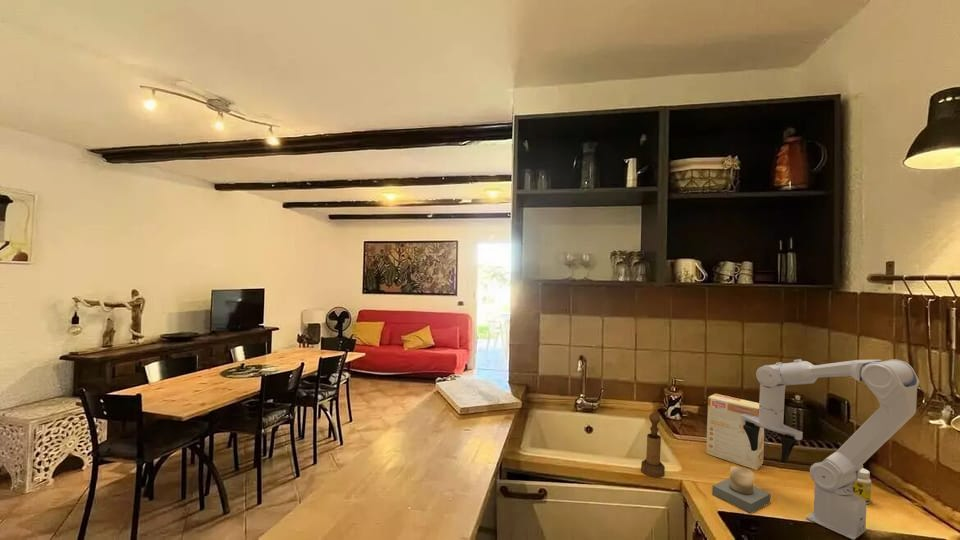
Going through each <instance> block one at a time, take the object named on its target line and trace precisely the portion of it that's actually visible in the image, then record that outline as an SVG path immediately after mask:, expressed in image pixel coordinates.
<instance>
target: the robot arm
mask: <svg viewBox="0 0 960 540" xmlns="http://www.w3.org/2000/svg"><path fill="white" fill-rule="evenodd" d="M755 377H756V379H757V381H758V382H759V402H758V403H759V417H754V416H750V415H746V414H744V415H742V416H741V422H744V423H745V425H743V428H744V430H745V432H746V434H747V436H748V438H749V442H750V446H751V450H752V451H756V450H757V448H758V435H759V430H760V427H762V428H764V430H765V429H766V430H768V431H771V432H775V433H778V434H781V435H784V436H781V437H780V441H781V463H784V464H785V463H787V462H789V458H790V455H791V452H792V450H793V448H794V447H795V446H796V444H797V443H798V442H799V441H802V440H803V435H804V434H803V433H804V432H803V431H801V430H798V429H796V428H793V427H790V426H788V425H786V424H784V420H785V419H784V417H785V416H784V415H785V396H786V395H785V394H786V393H785V392H786V386H793V385H795V386H796V385H808V384H811V385H812V384H814V383H815V382H816V381H817V380H818V378H834V377H836V378H837V377H851V378H853V379H854V380H855V381H857V382H862V381H863V383H864V384H865V385H866V386H867V388H868V389H869V390H870V392H872V394H873V395H874V396H875V397H876V399H877V401H878V403H879V407H878V408H877V409H876V410H875V411H874V412H873V414H871V415H870V417H868V418H867V419H866V420H865V422H864V423H863V424H861V425H860V426H859V427H858V429H856V431H854V433H853V434H852V435H851V436H850V437H849V438H848V439H847V440H846V441H845V442H844V443H843V444H842V445H841V446H840V447H839V448H838V449H837V450H836V451H835V452H832V453H831V454H830V455H828V456H827V457H826V458H824V459H823V461H819V462H815V463H812V464H811V466H810V468H809V475H810V477H811V480H812V481H813V482H814V495H813V496H814V498H813V512H811V513H809V514H808V515H807V516H806V520H808V521H812V522H813V523H815V524H817V525H818V526H821V527H824V528H827V529H828V530H830V531H833V532H836V533H837V534H839V535H840V536H841V535H842V536H844V537H846V538H848V539H851V540H856V539H858V538H859V537H860V536H861V535H862V534H864V533H865V532H866V531H867V528H866V526H867V525H866V524H867V523H866V522H867V504H866V501H865V500H864V499H863V498H861V497H859V496H857V495H856V494H854V493H853V488H852V483H855V482H856V481H857V480H858V477H859V471H860V470H861V469H862V468H864V465H863V464H865V463H866V462H867V461H868V460H869V459H870V458H871V457H872V456H873V455H874V454H875V453H876V452H877V451H878V450H879V449H880V448H881V447H882V446H883V445H884V444H885V443H886V442H888V441H889V440H890V439H891V438H892V436H894V435H895V434H896V433H897V432H898V431H899V430H900V429H902V427H903V426H904V425H905V424H906V423H907V422H908V421H909V420H911V419H912V418H913V417H914V416H915V415H916V412H917V398H918V397H917V396H918V388H919V385H920V382H921V381H920V380H919V377H918V375H917V373H916V372H915V370H914V368H913V367H912V366H911V365H910V364H909V363H908V362H906V361H903V360H900V359H894V358H893V359H887V360H884V361H883V359H855V360H854V359H853V360H847V361H846V360H845V361H839V362H831V363H824V364H815V365H814V364H813V363H811V362H809V361H807V360H802V359H801V358H800V359H794V360H793V362H786V363H785V362H784V363H783V362H782V361H780V362H776V363H775V364H764V365H763V366H760V367H758V368H757V370H756V373H755Z"/></svg>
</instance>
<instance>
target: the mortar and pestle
mask: <svg viewBox="0 0 960 540" xmlns="http://www.w3.org/2000/svg"><path fill="white" fill-rule="evenodd" d="M648 417H649V421H650V423H651V426H650V427H649V429H650V433H648V434H647V435H646V455H645V456H646V458H645V459H644V460H642V461H641V465H640V466H641V467H640V470H641V472H642V473H643V474H645V475H646V476H649V477H652V478H662V477H664V476H665V471H666V466H665V465H664V464H663V463H662V462H661V448H662V447H661V446H662V445H661V444H662V442H661V441H662V437H661V435H659V434H658V433H659V428H658V424H659V423H660V421H661V416H660V415H659V414H658V413H656V412H652V413H650V415H649V416H648Z"/></svg>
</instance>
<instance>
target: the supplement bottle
mask: <svg viewBox="0 0 960 540" xmlns="http://www.w3.org/2000/svg"><path fill="white" fill-rule="evenodd" d="M870 472H871V471H869V470H868V469H866V468H864V467H863V468H862V469H861V470H860V471H859V477H858V480H857V481H856V482H855V483H852V488H853V493H854V494H856V495H857V496H859V497H861V498H863V499H864V500H865V501H866V505H869V504H870V503H871V497H872V496H871V495H872V479H871V478H870V475H871V473H870Z"/></svg>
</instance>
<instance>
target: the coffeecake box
mask: <svg viewBox="0 0 960 540" xmlns="http://www.w3.org/2000/svg"><path fill="white" fill-rule="evenodd" d="M744 414H746V415H750V416H754V417H759V402H755V401H752V400H746V399H743V398H742V399H741V398H738V397H737V398H736V397H733V396H729V395H723V394H719V393H714V394H712V395H709V396H708V397H707V419H706V421H707V423H706V447H705V448H706V449H705V450H706V451H705V452H706V455H709V456H712V457H716V458H717V459H718V458H719V459H722V460H725V461H728V462H731V463H733V464H737V465H740V466H742V467H744V468H747V469H751V470H755V471H758V470H759V469H760V467H762V464H764V443H765V428H762V427H760V430H759V435H758V448H757V450H756V451H752V450H751V446H750V442H749V438H748V436H747V434H746V432H745V430H744V428H743V425H745V423H744V422H741V416H742V415H744Z"/></svg>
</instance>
